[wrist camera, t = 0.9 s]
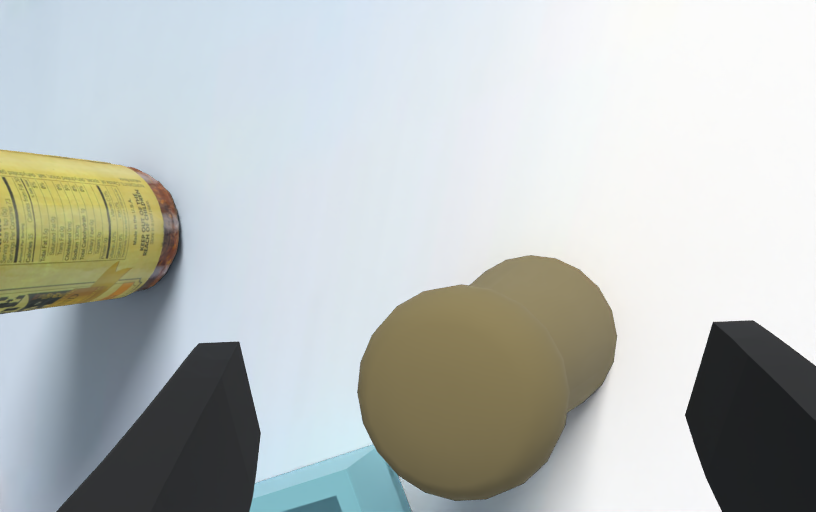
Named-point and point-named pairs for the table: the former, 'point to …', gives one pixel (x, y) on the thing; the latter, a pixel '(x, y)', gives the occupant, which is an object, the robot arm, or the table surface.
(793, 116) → the table surface
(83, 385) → the table surface
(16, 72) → the table surface
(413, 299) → the cork
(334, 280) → the table surface
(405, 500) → the teal bin
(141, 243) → the sauce bottle
